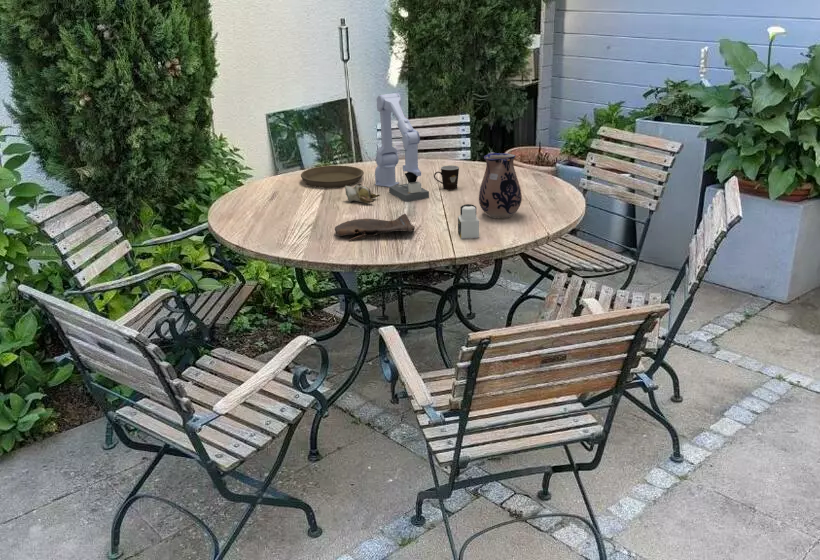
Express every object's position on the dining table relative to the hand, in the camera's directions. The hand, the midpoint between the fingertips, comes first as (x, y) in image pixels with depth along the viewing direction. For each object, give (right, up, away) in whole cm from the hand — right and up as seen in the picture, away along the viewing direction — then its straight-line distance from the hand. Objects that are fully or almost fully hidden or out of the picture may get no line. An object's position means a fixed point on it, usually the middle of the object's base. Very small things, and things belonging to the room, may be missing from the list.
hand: (412, 188), depth 326 cm
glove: (-15, -23, -42) cm, 50 cm away
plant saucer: (-39, +7, +32) cm, 52 cm away
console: (-2, -3, +5) cm, 6 cm away
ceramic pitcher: (+36, -14, -25) cm, 46 cm away
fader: (+1, -2, -2) cm, 3 cm away
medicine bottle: (+21, -25, -48) cm, 58 cm away
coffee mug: (+16, +1, +14) cm, 21 cm away
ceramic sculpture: (-23, -7, -2) cm, 24 cm away
